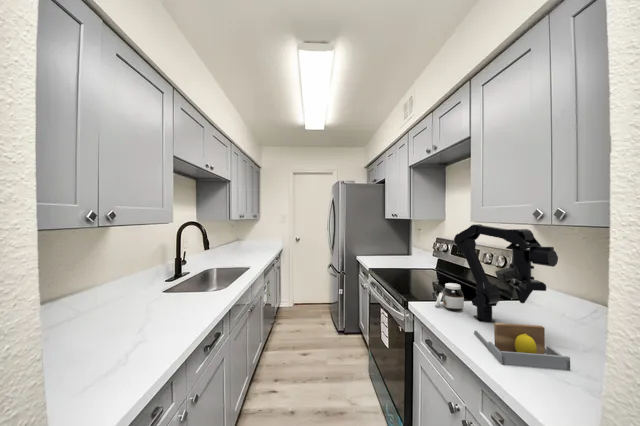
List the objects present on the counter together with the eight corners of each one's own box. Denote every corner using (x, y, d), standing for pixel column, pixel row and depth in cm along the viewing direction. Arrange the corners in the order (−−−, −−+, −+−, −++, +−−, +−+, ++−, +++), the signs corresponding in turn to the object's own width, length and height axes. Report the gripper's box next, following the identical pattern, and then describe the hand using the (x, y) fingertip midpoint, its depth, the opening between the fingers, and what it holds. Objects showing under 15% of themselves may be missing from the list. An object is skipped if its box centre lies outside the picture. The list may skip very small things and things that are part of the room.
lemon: (515, 352, 87) (514, 328, 87) (536, 358, 84) (536, 333, 84) (514, 360, 83) (514, 334, 83) (537, 366, 79) (536, 339, 79)
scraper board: (494, 349, 89) (494, 322, 89) (541, 353, 86) (541, 325, 86) (496, 352, 87) (496, 324, 87) (544, 355, 85) (544, 327, 85)
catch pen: (474, 334, 101) (474, 324, 101) (527, 338, 97) (527, 327, 97) (502, 365, 80) (501, 352, 80) (570, 371, 77) (570, 357, 77)
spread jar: (466, 312, 123) (466, 287, 123) (442, 312, 123) (441, 287, 123) (454, 304, 135) (453, 281, 135) (431, 304, 135) (431, 281, 135)
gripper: (487, 257, 111) (487, 294, 111) (511, 266, 93) (511, 310, 93) (516, 258, 109) (517, 296, 109) (547, 267, 91) (547, 312, 91)
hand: (522, 303), depth 100 cm, fingers closed
